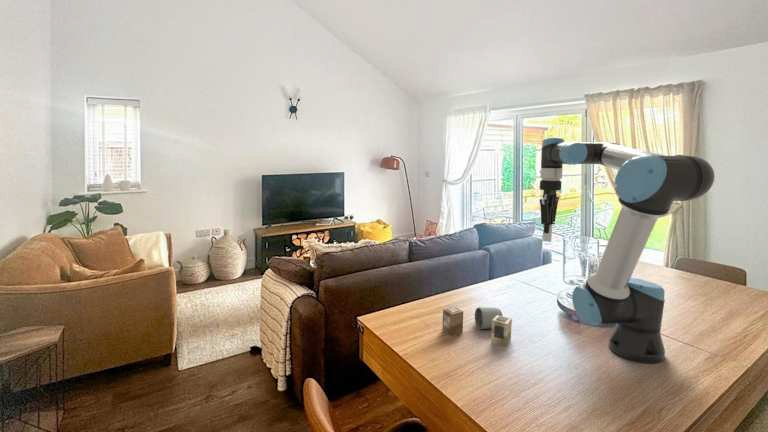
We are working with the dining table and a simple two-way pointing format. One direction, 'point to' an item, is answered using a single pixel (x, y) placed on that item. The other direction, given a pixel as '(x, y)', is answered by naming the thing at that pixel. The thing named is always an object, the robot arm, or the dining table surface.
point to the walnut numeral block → (452, 321)
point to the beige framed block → (501, 330)
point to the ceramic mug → (486, 317)
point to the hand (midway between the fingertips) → (547, 241)
